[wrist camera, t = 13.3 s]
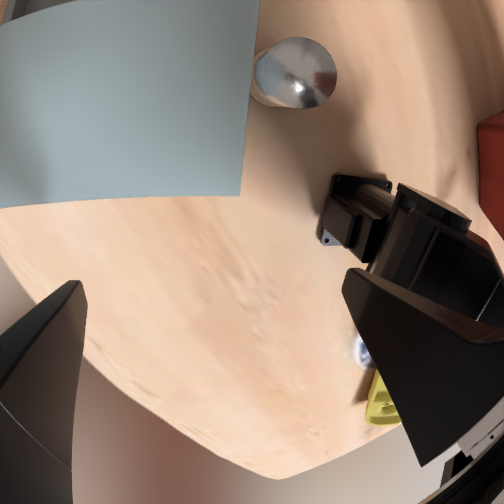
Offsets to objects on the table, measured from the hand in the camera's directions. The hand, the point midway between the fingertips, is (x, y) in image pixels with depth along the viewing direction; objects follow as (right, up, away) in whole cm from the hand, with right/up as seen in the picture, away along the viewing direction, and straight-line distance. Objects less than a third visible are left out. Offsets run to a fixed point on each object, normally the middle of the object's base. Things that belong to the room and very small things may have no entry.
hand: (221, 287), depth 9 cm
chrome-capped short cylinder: (+2, +13, +9) cm, 16 cm away
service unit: (-8, +11, +7) cm, 16 cm away
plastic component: (+26, -22, +36) cm, 49 cm away
